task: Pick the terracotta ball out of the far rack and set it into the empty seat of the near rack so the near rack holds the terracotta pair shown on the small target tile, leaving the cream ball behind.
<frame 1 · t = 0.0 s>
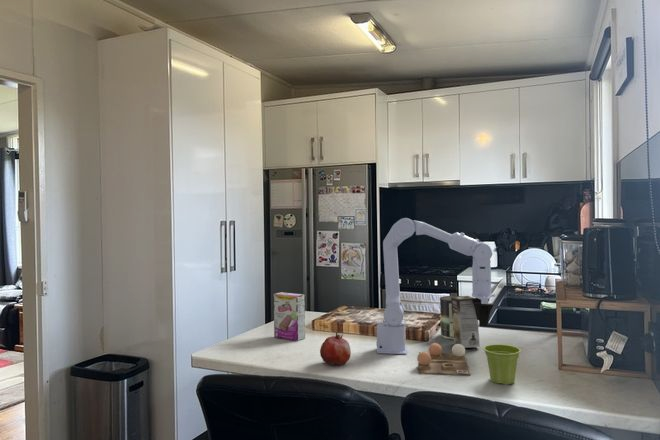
hand: (482, 322, 156), 10 cm above the countertop, tool pointing down, fingers open, 7 cm apart
terracotta ball 1: (435, 349, 152), point 3 cm above the countertop, touching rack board
coffee box: (467, 345, 165), on the countertop, touching gripper
candy bar box: (289, 338, 180), on the countertop
fruit: (335, 364, 148), on the countertop
plant pot: (502, 381, 131), on the countertop
terracotta ball 2: (424, 358, 143), point 3 cm above the countertop, touching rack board
coffee can: (455, 336, 179), on the countertop
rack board: (442, 363, 146), on the countertop
cream ball: (458, 350, 150), point 3 cm above the countertop, touching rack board
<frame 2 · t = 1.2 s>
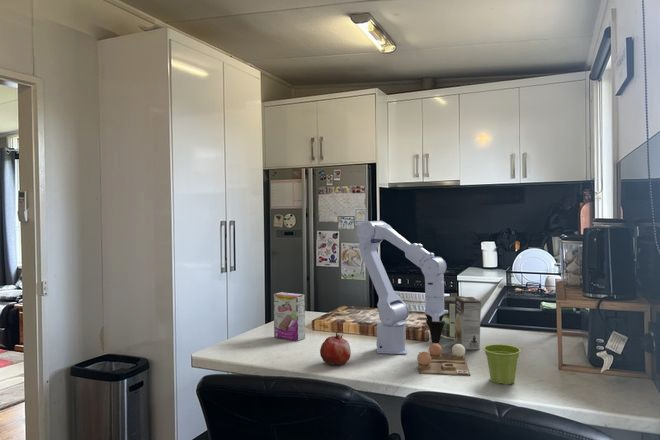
hand: (435, 339, 152), 6 cm above the countertop, tool pointing down, fingers open, 7 cm apart
coffee box: (466, 346, 165), on the countertop
everything else where it was.
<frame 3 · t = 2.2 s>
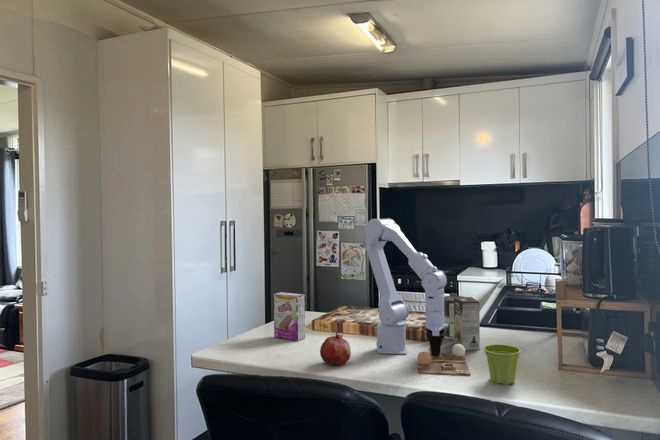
hand: (435, 353, 152), 2 cm above the countertop, tool pointing down, fingers closed on terracotta ball 1, 4 cm apart
terracotta ball 1: (435, 349, 152), point 3 cm above the countertop, touching gripper, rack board
everything else where it was.
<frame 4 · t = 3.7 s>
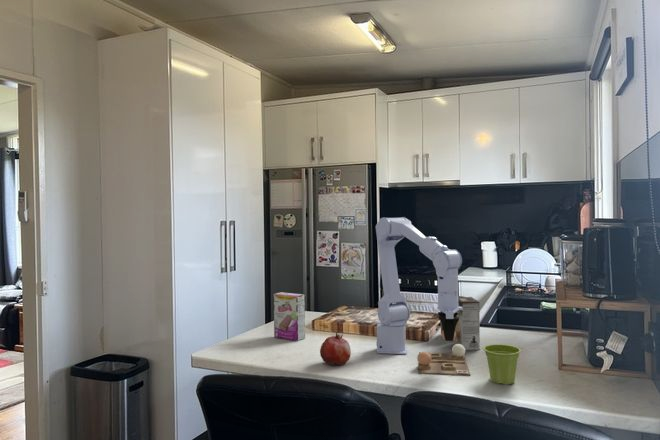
hand: (448, 338, 141), 9 cm above the countertop, tool pointing down, fingers closed on terracotta ball 1, 4 cm apart
terracotta ball 1: (448, 334, 141), point 10 cm above the countertop, touching gripper
everything else where it was.
when the fingers open (3 cm above the countertop, at t = 5.0 s): terracotta ball 1 drops 1 cm, resting on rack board.
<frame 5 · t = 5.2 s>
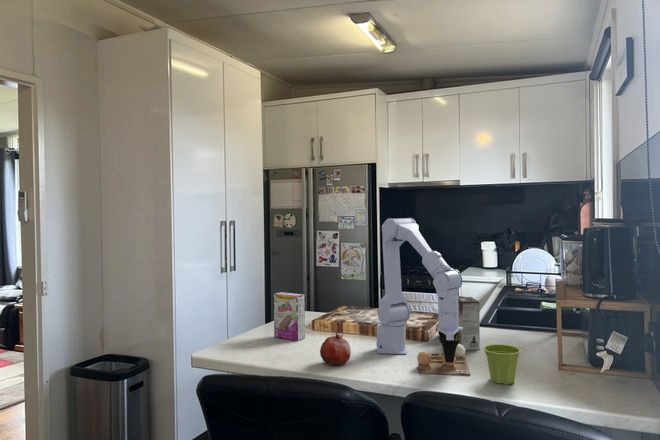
hand: (448, 358, 141), 3 cm above the countertop, tool pointing down, fingers open, 6 cm apart
terracotta ball 1: (448, 359, 141), point 3 cm above the countertop, touching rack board
everything else where it was.
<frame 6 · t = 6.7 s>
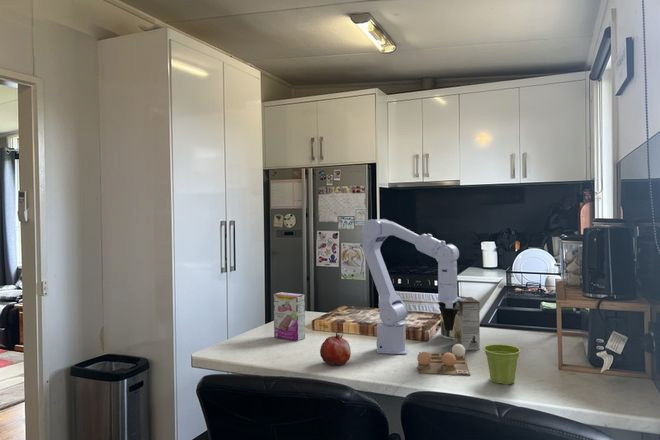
hand: (448, 327, 151), 10 cm above the countertop, tool pointing down, fingers open, 7 cm apart
nothing on the countertop moved.
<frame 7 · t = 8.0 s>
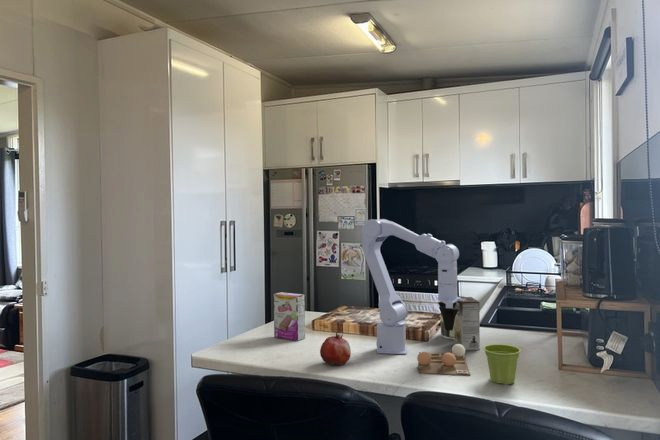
hand: (448, 327, 151), 10 cm above the countertop, tool pointing down, fingers open, 7 cm apart
nothing on the countertop moved.
at the end: terracotta ball 1 0.0 cm from the target spot, point 2.8 cm above the countertop; the gripper is holding nothing; terracotta ball 2 moved 0.1 cm from its start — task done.
